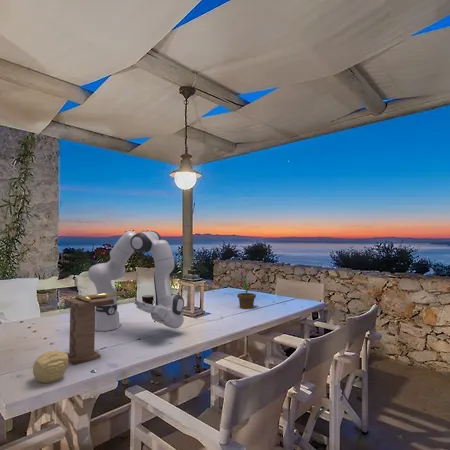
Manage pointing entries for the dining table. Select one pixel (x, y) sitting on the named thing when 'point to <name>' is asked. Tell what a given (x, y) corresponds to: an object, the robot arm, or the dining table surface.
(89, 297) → the brass T-key
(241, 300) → the flowerpot
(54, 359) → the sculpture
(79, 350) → the walnut stand
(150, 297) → the coffee mug
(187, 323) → the dining table surface
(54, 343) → the dining table surface
